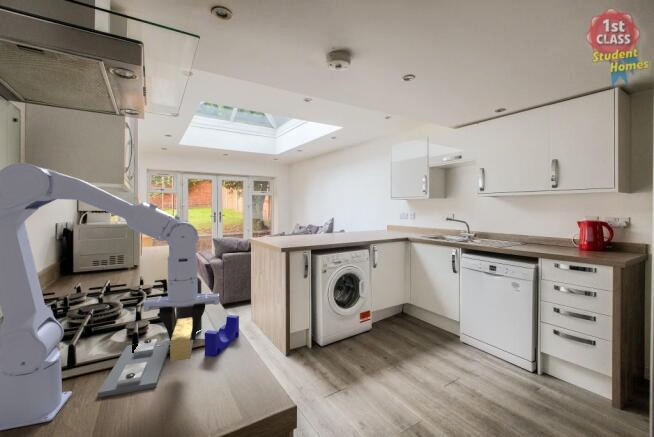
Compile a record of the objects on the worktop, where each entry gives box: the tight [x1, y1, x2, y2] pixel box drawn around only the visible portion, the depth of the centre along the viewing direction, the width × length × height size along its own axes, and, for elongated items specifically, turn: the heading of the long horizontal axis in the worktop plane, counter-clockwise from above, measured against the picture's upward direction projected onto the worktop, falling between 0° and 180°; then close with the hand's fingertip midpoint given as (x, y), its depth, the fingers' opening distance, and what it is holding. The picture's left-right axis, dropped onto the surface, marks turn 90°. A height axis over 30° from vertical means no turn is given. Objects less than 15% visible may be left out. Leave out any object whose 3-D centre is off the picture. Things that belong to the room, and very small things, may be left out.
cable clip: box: [204, 314, 240, 358], centre depth 79 cm, size 12×4×6 cm, turn 169°
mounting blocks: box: [117, 338, 158, 386], centre depth 68 cm, size 4×18×1 cm, turn 20°
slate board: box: [97, 339, 170, 398], centre depth 68 cm, size 10×20×1 cm, turn 20°
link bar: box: [169, 317, 194, 362], centre depth 64 cm, size 4×12×4 cm, turn 20°
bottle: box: [175, 263, 203, 331], centre depth 86 cm, size 7×7×20 cm
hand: (183, 339), depth 64 cm, fingers closed on link bar, 3 cm apart
